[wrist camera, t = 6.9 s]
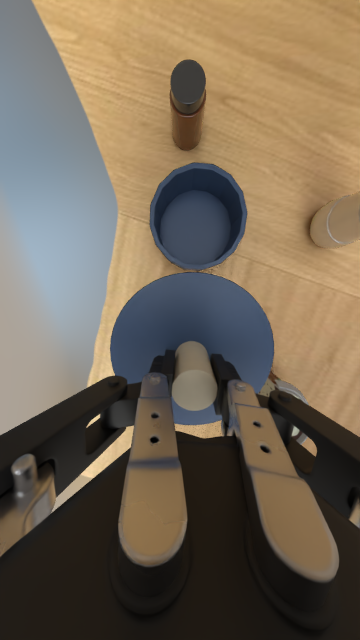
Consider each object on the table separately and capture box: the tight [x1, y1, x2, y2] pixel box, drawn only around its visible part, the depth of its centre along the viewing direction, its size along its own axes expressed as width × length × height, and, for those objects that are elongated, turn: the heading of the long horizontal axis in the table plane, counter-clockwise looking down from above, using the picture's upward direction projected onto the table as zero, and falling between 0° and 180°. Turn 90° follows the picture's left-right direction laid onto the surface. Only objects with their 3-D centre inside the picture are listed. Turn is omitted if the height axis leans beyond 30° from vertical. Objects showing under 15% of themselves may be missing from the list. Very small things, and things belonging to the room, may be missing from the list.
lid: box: [110, 272, 274, 425], centre depth 13 cm, size 13×13×6 cm
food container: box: [258, 371, 309, 444], centre depth 32 cm, size 12×6×10 cm, turn 175°
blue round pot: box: [150, 163, 247, 271], centre depth 27 cm, size 12×12×6 cm
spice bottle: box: [170, 60, 206, 150], centre depth 24 cm, size 4×4×8 cm
